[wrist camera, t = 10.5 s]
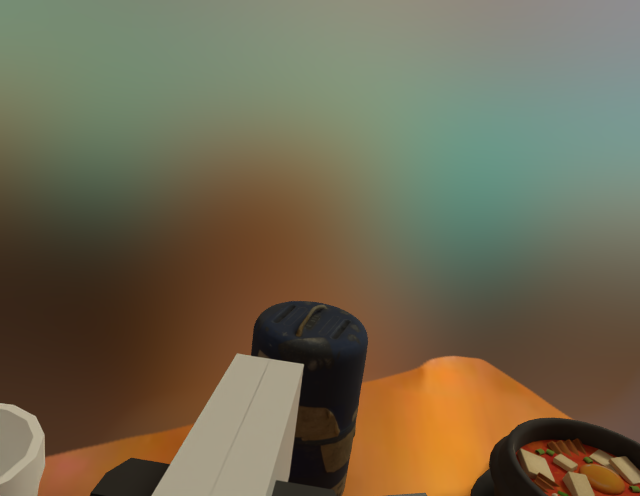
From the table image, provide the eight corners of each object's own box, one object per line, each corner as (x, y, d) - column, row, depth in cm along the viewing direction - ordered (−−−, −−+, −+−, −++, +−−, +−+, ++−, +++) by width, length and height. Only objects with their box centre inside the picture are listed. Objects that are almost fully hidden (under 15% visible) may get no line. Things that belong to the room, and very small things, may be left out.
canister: (362, 489, 55) (394, 312, 49) (301, 550, 47) (331, 349, 42) (281, 442, 60) (302, 277, 54) (214, 491, 52) (231, 304, 46)
